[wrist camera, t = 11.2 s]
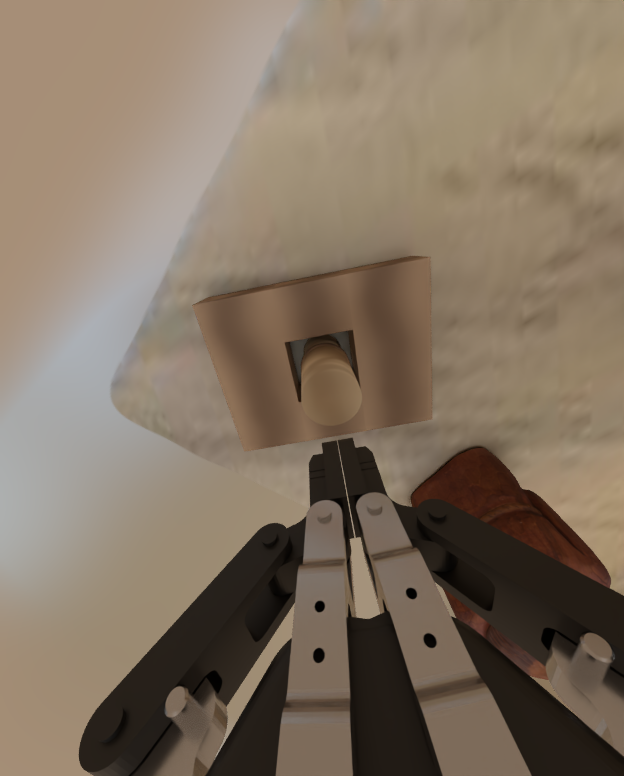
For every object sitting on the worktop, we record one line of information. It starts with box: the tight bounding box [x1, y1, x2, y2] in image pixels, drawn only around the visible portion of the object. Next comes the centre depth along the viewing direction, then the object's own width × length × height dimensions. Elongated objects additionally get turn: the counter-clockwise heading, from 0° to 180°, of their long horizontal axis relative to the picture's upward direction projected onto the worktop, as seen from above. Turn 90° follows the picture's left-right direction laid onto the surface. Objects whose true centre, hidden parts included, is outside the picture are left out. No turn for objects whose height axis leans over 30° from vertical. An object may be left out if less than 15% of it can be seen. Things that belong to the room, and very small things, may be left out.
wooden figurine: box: [411, 448, 611, 680], centre depth 27 cm, size 12×6×18 cm, turn 142°
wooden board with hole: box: [192, 256, 432, 451], centre depth 26 cm, size 18×14×4 cm
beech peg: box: [301, 334, 362, 426], centre depth 24 cm, size 4×4×10 cm
